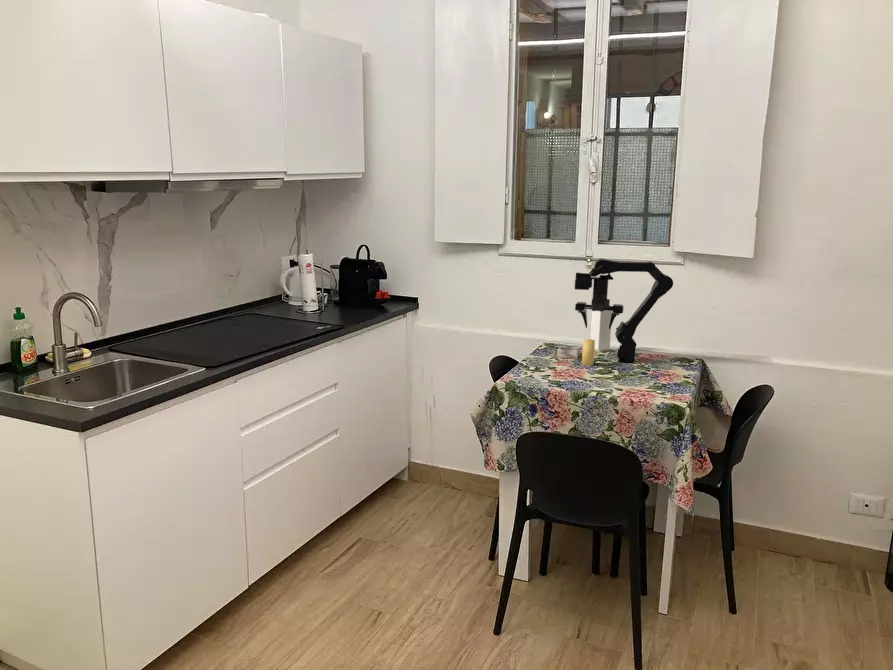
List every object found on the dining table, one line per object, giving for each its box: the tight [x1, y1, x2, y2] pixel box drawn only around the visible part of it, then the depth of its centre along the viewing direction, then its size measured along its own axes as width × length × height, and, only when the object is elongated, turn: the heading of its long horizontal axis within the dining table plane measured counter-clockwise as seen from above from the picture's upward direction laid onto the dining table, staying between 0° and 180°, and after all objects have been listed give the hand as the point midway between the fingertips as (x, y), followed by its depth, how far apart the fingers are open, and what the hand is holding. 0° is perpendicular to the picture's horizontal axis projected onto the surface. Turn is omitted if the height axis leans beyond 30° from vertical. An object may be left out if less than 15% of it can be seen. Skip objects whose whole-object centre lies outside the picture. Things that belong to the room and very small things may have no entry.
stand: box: [551, 345, 582, 361], centre depth 290 cm, size 12×12×4 cm
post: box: [581, 338, 595, 367], centre depth 276 cm, size 4×4×11 cm
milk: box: [590, 310, 612, 351], centre depth 303 cm, size 6×6×22 cm
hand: (597, 328), depth 288 cm, fingers open, 9 cm apart
